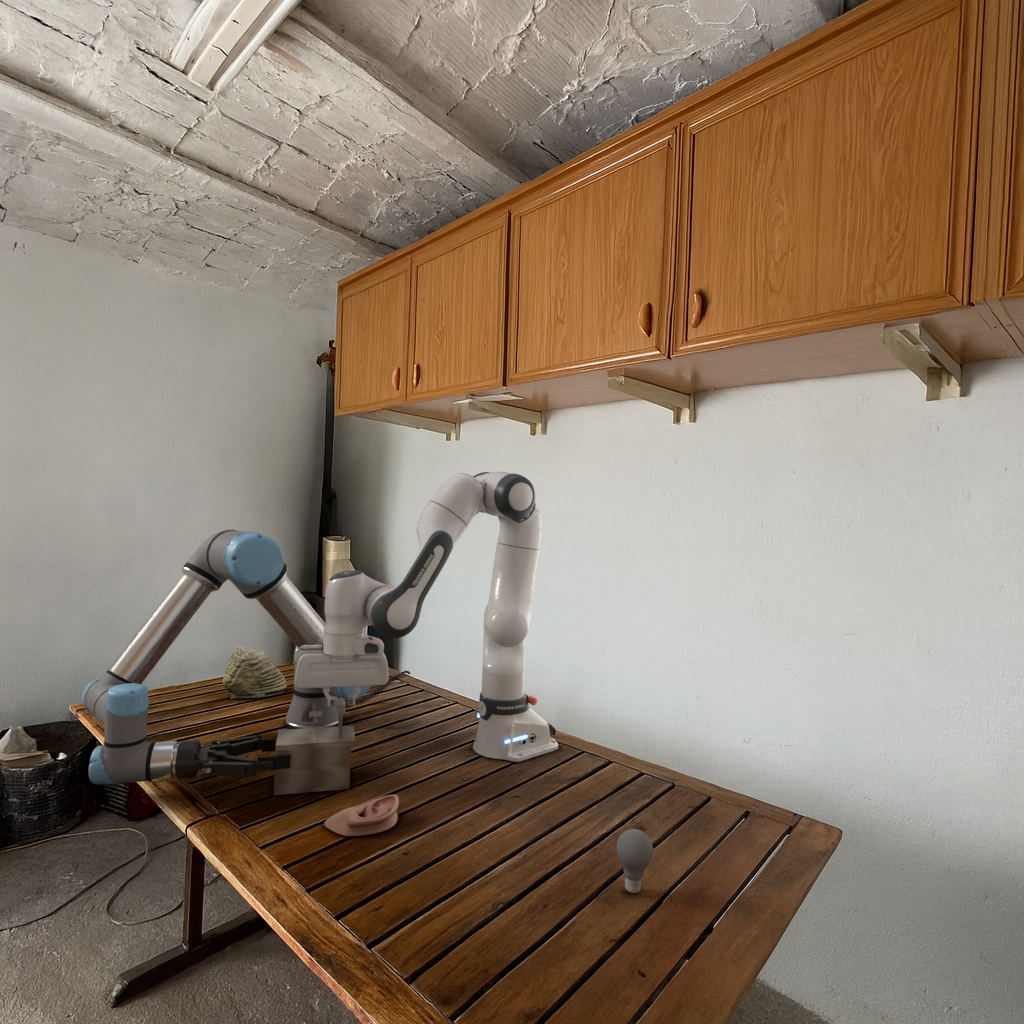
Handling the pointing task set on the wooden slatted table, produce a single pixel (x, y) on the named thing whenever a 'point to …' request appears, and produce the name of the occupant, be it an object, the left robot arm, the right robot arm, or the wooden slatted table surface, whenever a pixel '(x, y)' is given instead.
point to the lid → (318, 735)
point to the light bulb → (634, 857)
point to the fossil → (252, 674)
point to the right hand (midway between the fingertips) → (341, 705)
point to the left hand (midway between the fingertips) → (291, 752)
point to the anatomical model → (365, 817)
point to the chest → (314, 770)
